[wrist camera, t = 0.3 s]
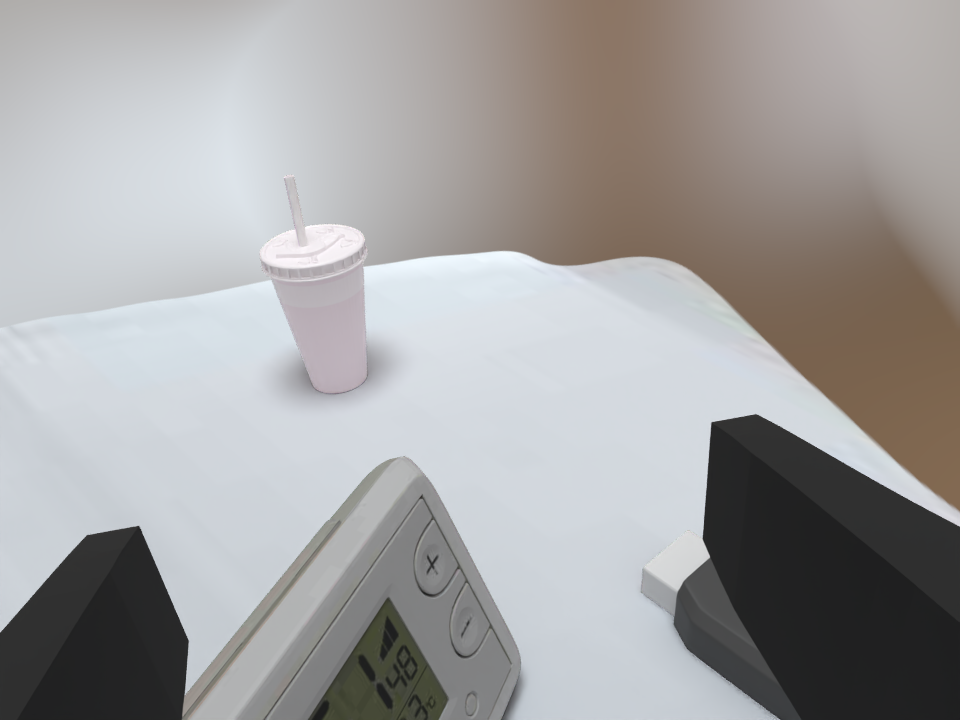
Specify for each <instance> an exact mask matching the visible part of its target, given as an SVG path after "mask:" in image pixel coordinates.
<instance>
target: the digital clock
mask: <svg viewBox="0 0 960 720" xmlns="http://www.w3.org/2000/svg"><path fill="white" fill-rule="evenodd" d="M520 669H521V659H520V654H519V650H518V648H517V645H516V643H515V641H514V639H513V637H512V635H511V633H510V631H509V629H508V627H507V625H506V623H505V621H504V619H503V617H502V616H501V614H500V612H499V610H498V608H497V606H496V604H495V602H494V600H493V598H492V596H491V594H490V592H489V591H488V589H487V587H486V585H485V583H484V581H483V579H482V577H481V575H480V573H479V571H478V569H477V567H476V566H475V564H474V562H473V560H472V558H471V556H470V554H469V552H468V550H467V548H466V546H465V544H464V542H463V541H462V539H461V537H460V535H459V533H458V531H457V529H456V527H455V525H454V523H453V521H452V519H451V518H450V516H449V514H448V512H447V510H446V508H445V506H444V504H443V502H442V501H441V499H440V497H439V495H438V493H437V492H436V490H435V488H434V486H433V485H432V483H431V482H430V480H429V479H428V478H427V477H426V476H425V474H424V473H423V472H422V471H421V470H420V468H419V467H418V466H417V465H416V464H415V463H414V462H413V461H412V460H411V459H409V458H407V457H405V456H403V457H398V458H393V459H389V460H387V461H385V462H383V463H382V464H380V465H379V466H377V467H376V468H375V469H374V470H373V471H372V472H370V473H369V474H368V475H367V476H366V477H365V478H364V479H363V481H362V482H361V483H360V484H359V485H358V486H357V488H356V489H355V490H354V491H353V492H352V494H351V495H350V496H349V497H348V498H347V500H346V501H345V502H344V503H343V504H342V506H341V507H340V508H339V509H338V510H337V511H336V513H335V514H334V515H333V516H332V517H331V519H330V520H328V521H327V522H326V523H325V524H324V525H323V526H322V528H321V529H320V530H319V531H318V533H317V534H316V535H315V536H314V537H313V539H312V540H311V541H310V542H309V544H308V545H307V546H306V547H305V549H304V550H303V551H302V552H301V553H300V555H299V556H298V557H297V558H296V560H295V561H294V562H293V563H292V565H291V566H290V567H289V568H288V569H287V571H286V572H285V573H284V574H283V576H282V577H281V578H280V579H279V581H278V582H277V583H276V584H275V585H274V587H273V588H272V589H271V590H270V592H269V593H268V594H267V595H266V597H265V598H264V599H263V600H262V601H261V603H260V604H259V605H258V606H257V608H256V609H255V610H254V611H253V613H252V614H251V615H250V616H249V617H248V619H247V620H246V621H245V622H244V624H243V625H242V626H241V627H240V628H239V630H238V631H237V632H236V633H235V635H234V636H233V637H232V638H231V640H230V641H229V642H228V643H227V644H226V646H225V647H224V648H223V649H222V651H221V652H220V653H219V654H218V656H217V657H216V658H215V659H214V660H213V662H212V663H211V664H210V665H209V667H208V668H207V669H206V670H205V672H204V673H203V674H202V675H201V676H200V678H199V679H198V680H197V681H196V683H195V684H194V685H193V686H192V688H191V689H190V690H189V691H188V692H187V694H186V695H185V696H184V704H183V714H182V720H501V719H502V717H503V714H504V712H505V709H506V707H507V705H508V702H509V700H510V697H511V695H512V692H513V690H514V687H515V685H516V682H517V680H518V677H519V673H520Z"/></svg>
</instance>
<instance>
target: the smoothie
mask: <svg viewBox="0 0 960 720" xmlns="http://www.w3.org/2000/svg"><path fill="white" fill-rule="evenodd" d="M284 180H285V185H286V189H287V194H288V198H289V203H290V208H291V212H292V217H293V221H294V226H295V229H293V230H290V231H287V232H284V233H282V234H279V235H277V236H275V237H274V238H272V239H271V240H269V241H268V242H267V243H266V244H264V245H263V247H262V248H261V250H260V253H259V255H260V259H261V263H262V271H263V272H264V273H265V274H266V275H267V276H269V277H271V280H272V282H273V285H274V288H275V290H276V293H277V296H278V298H279V300H280V303H281V305H282V308H283V311H284V313H285V316H286V318H287V321H288V323H289V326H290V328H291V331H292V334H293V336H294V339H295V341H296V344H297V346H298V349H299V351H300V354H301V357H302V359H303V362H304V364H305V367H306V369H307V372H308V374H309V377H310V380H311V382H312V385H313V387H314V388H315V389H316V390H318V391H320V392H323V393H330V394H335V393H343V392H347V391H350V390H352V389H355V388H357V387H358V386H360V385H361V384H362V383H363V382H364V381H365V380H366V378H367V351H366V325H365V298H364V271H363V261H364V260H365V258H366V257H367V253H368V250H367V247H366V245H365V238H364V235H363V234H362V233H361V232H360V231H358V230H357V229H355V228H352V227H349V226H345V225H337V224H321V225H312V226H305V227H304V222H303V217H302V213H301V208H300V203H299V199H298V193H297V189H296V184H295V180H294V175H286V176H284Z"/></svg>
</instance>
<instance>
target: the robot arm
mask: <svg viewBox="0 0 960 720" xmlns="http://www.w3.org/2000/svg"><path fill="white" fill-rule="evenodd" d="M703 542H704V544H705V546H706V549H707V551H708V553H709V555H710V558H711V560H712V562H713V565H714V567H715V569H716V571H717V574H718V576H719V578H720V580H721V583H722V585H723V587H724V589H725V591H726V593H727V595H728V597H729V600H730V602H731V604H732V606H733V608H734V610H735V612H736V613H737V615H738V617H739V618H740V620H741V622H742V624H743V625H744V627H745V629H746V630H747V632H748V633H749V635H750V637H751V638H752V640H753V642H754V643H755V645H756V647H757V648H758V650H759V652H760V653H761V655H762V657H763V658H764V660H765V661H766V663H767V665H768V666H769V668H770V670H771V671H772V673H773V674H774V676H775V678H776V679H777V681H778V683H779V684H780V686H781V687H782V689H783V691H784V692H785V694H786V695H787V697H788V699H789V700H790V702H791V704H792V705H793V707H794V708H795V710H796V712H797V713H798V715H799V717H800V718H801V720H960V527H959V526H957V525H955V524H953V523H952V522H950V521H948V520H946V519H944V518H942V517H940V516H938V515H936V514H934V513H933V512H931V511H929V510H927V509H925V508H923V507H921V506H919V505H918V504H916V503H914V502H912V501H910V500H908V499H907V498H905V497H903V496H901V495H899V494H897V493H896V492H894V491H892V490H890V489H888V488H887V487H885V486H883V485H881V484H879V483H878V482H876V481H874V480H872V479H871V478H869V477H867V476H865V475H864V474H862V473H860V472H858V471H857V470H855V469H853V468H851V467H850V466H848V465H846V464H844V463H843V462H841V461H839V460H837V459H836V458H834V457H832V456H830V455H829V454H827V453H825V452H824V451H822V450H820V449H818V448H817V447H815V446H813V445H811V444H810V443H808V442H806V441H804V440H803V439H801V438H799V437H797V436H796V435H794V434H792V433H790V432H789V431H787V430H785V429H783V428H782V427H780V426H778V425H776V424H774V423H772V422H770V421H769V420H767V419H765V418H763V417H761V416H759V415H757V414H755V415H750V416H744V417H739V418H733V419H727V420H722V421H716V422H712V423H711V436H710V449H709V463H708V476H707V490H706V503H705V516H704V530H703ZM188 643H189V641H188V638H187V636H186V634H185V631H184V629H183V627H182V624H181V622H180V620H179V617H178V615H177V613H176V610H175V608H174V606H173V603H172V601H171V599H170V596H169V594H168V592H167V589H166V587H165V585H164V582H163V580H162V578H161V575H160V573H159V571H158V568H157V566H156V564H155V561H154V559H153V557H152V555H151V552H150V550H149V548H148V545H147V543H146V541H145V538H144V536H143V534H142V531H141V529H140V527H139V526H136V527H130V528H125V529H119V530H114V531H108V532H103V533H97V534H92V535H87V536H86V537H85V538H84V539H83V540H82V541H81V542H80V543H79V544H78V545H77V546H76V547H75V549H74V550H73V551H72V552H71V553H70V554H69V555H68V556H67V557H66V558H65V560H64V561H63V562H62V563H61V564H60V565H59V566H58V567H57V569H56V570H55V571H54V572H53V573H52V574H51V575H50V577H49V578H48V579H47V580H46V581H45V582H44V583H43V585H42V586H41V587H40V588H39V589H38V590H37V591H36V593H35V594H34V595H33V596H32V597H31V598H30V600H29V601H28V602H27V603H26V604H25V605H24V606H23V608H22V609H21V610H20V611H19V612H18V613H17V614H16V616H15V617H14V618H13V619H12V620H11V621H10V622H9V624H8V625H7V626H6V627H5V628H4V629H3V630H2V631H1V632H0V720H182V714H183V704H184V694H185V683H186V670H187V656H188Z"/></svg>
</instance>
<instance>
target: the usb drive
mask: <svg viewBox="0 0 960 720" xmlns="http://www.w3.org/2000/svg"><path fill="white" fill-rule="evenodd" d="M641 593H643V594H644V595H645V596H647V597H648V598H649V599H651V600H652V601H654V602H655V603H656V604H658V605H659V606H660V607H662V608H663V609H665V610H666V611H667V612H669V613H670V614H671V615H673V616H674V626H675V628H676V630H677V631H678V633H679V635H680V637H681V639H682V640H683V642H684V644H685V646H686V647H687V649H688V650H689V651H690V652H691V653H693V654H694V655H695V656H697V657H698V658H699V659H700V660H702V661H703V662H704V663H706V664H707V665H708V666H710V667H711V668H712V669H714V670H715V671H716V672H718V673H719V674H720V675H722V676H723V677H724V678H726V679H727V680H728V681H730V682H731V683H732V684H734V685H735V686H736V687H738V688H739V689H740V690H742V691H743V692H744V693H746V694H747V695H748V696H750V697H751V698H752V699H754V700H755V701H756V702H758V703H759V704H760V705H762V706H763V707H764V708H766V709H767V710H768V711H770V712H771V713H772V714H774V715H775V716H776V717H778V718H779V719H780V720H801V718H800V717H799V715H798V713H797V712H796V710H795V708H794V707H793V705H792V704H791V702H790V700H789V699H788V697H787V695H786V694H785V692H784V691H783V689H782V687H781V686H780V684H779V683H778V681H777V679H776V678H775V676H774V674H773V673H772V671H771V670H770V668H769V666H768V665H767V663H766V661H765V660H764V658H763V657H762V655H761V653H760V652H759V650H758V648H757V647H756V645H755V643H754V642H753V640H752V638H751V637H750V635H749V633H748V632H747V630H746V629H745V627H744V625H743V624H742V622H741V620H740V618H739V617H738V615H737V613H736V612H735V610H734V608H733V606H732V604H731V602H730V600H729V597H728V595H727V593H726V591H725V589H724V587H723V585H722V583H721V580H720V578H719V576H718V574H717V571H716V569H715V567H714V565H713V562H712V560H711V558H710V555H709V553H708V551H707V549H706V546H705V544H704V542H703V539H702V538H701V537H699V536H698V535H696V534H694V533H693V532H691V531H690V530H687V531H686V532H685V533H683V534H682V535H681V536H680V537H679V538H677V539H676V540H675V541H674V542H673V543H671V544H670V545H669V546H668V547H667V548H665V549H664V550H663V551H662V552H661V553H660V554H658V555H657V556H656V557H655V558H654V559H652V560H651V561H650V562H649V563H648V564H646V565H645V566H644V567H643V572H642V588H641Z"/></svg>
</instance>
